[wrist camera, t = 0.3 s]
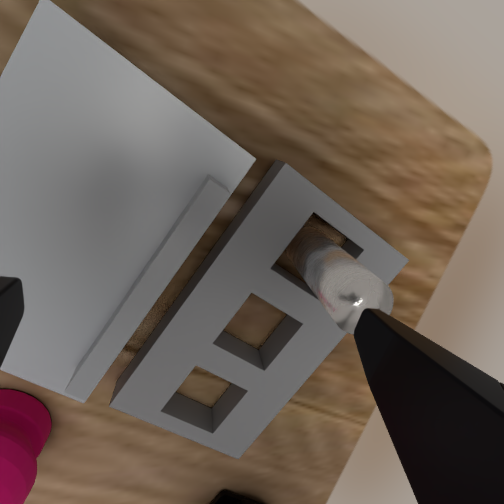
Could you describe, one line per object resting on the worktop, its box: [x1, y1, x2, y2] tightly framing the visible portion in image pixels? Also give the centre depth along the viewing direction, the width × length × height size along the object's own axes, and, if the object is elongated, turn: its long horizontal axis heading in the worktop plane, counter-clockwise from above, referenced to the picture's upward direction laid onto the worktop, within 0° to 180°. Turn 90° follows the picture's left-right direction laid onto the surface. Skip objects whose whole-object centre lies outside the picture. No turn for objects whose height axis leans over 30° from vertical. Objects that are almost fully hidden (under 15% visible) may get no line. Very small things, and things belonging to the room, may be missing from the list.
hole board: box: [109, 160, 409, 459], centre depth 24 cm, size 20×11×2 cm, turn 143°
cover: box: [0, 0, 256, 403], centre depth 18 cm, size 18×11×5 cm, turn 143°
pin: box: [286, 227, 393, 334], centre depth 20 cm, size 3×3×9 cm
